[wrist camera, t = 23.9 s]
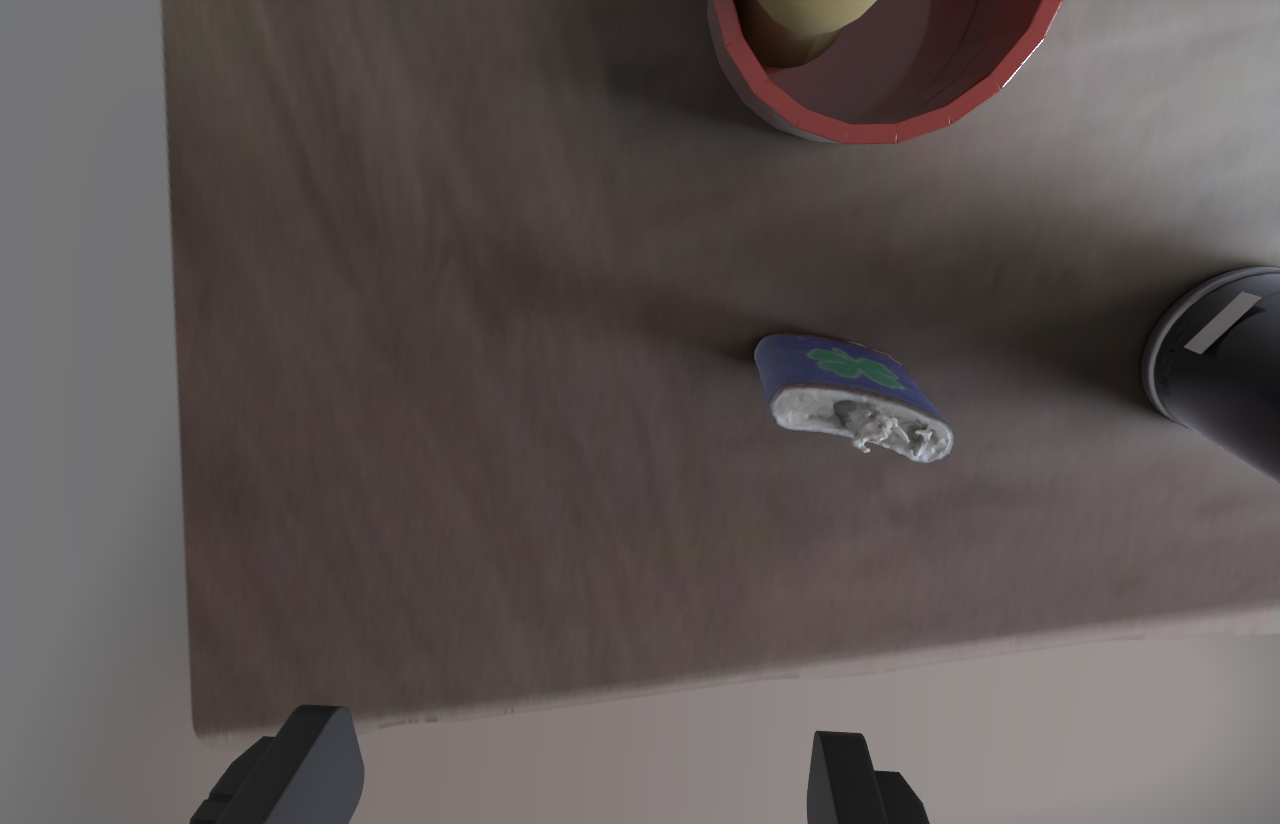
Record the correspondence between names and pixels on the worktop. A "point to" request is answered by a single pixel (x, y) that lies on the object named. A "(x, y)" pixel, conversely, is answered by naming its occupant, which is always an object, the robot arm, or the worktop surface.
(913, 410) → the flask
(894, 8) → the pot
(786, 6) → the cork
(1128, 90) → the worktop surface
